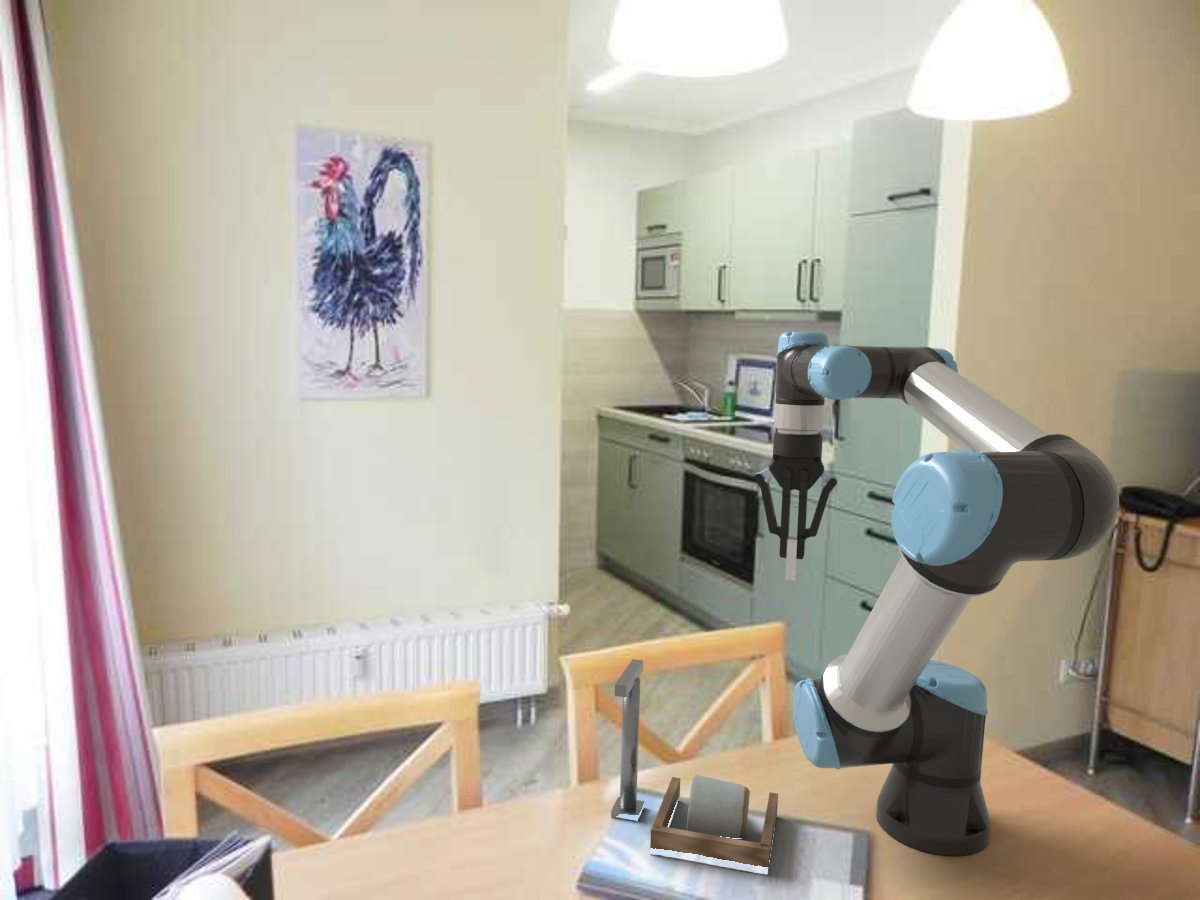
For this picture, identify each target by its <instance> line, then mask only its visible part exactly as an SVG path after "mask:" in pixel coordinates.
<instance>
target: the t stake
mask: <svg viewBox="0 0 1200 900" xmlns="http://www.w3.org/2000/svg"><path fill="white" fill-rule="evenodd" d="M643 672H644V660H643V659H635V658H634V659H633V658H632V659H631V660H630V661H629V664H628V665H627V666H626V667H625V669H624V670H623V672H622V674H621V675H620V676H619V678H618V680H616V682H615V683H614V697H618V698H619V697H621V698H622V711H621V712H622V714H621V715H622V716H621V745H620V746H621V747H620V748H621V749H620V750H621V753H620V779H619V781H620V784H619V785H620V786H619V787H620V788H619V796H617V798H616V800H615V802H614V805H613V806H612V808H611V810H610V818H613V819H615V818H614V817H616V816H618V815H619V814H628V815H639V813H640V811H641V809H642V807H643V804H644V802H645V800H640V799H639V800H638V795H637V794H638V770H639V769H638V768H639V767H638V765H639V764H638V763H639V736H640V735H639V733H640V726H639V725H640V705H641V704H640V703H641V702H640V701H641V699H640V698H641V693H640V692H641V678H640V677H641V676H642V675H641V674H642V673H643ZM645 803H646V802H645Z"/></svg>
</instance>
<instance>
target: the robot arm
mask: <svg viewBox="0 0 1200 900" xmlns="http://www.w3.org/2000/svg"><path fill="white" fill-rule="evenodd" d="M828 340H829V338H828V336H827V334H825V333H824V332H817V331H815V332H814V331H813V332H812V331H811V332H810V331H785V332H782V333H781V334H780V335H779V338H778V346H777V352H776V356H775V357H776V375H775V376H776V378H775V381H776V382H775V383H776V384H775V401H774V402H775V403H774V418H773V419H774V420H773V427H774V428H775V429H777V431H775V432H774V433H773V439H772V440H773V441H772V442H773V443H772V459H771V460H770V462H769V464H768V467H767V468H765V469H764V470H761V471H758V472H757V473H756V474H755V476H754V480H755V482H756V483H757V484H758V487H759V489H760V491H761V496H762V504H763V508H764V512H765V516H766V523H767V527H768V532H769V533H770V534H771V535H772V534H774V535H776V536H778V537H779V557H780V558H781V559H783V558H784V559H786V560H785V562H786V563H785V578H784V580H785V581H792V582H793V581H796V576H797V563H798V561H797V560H803V559H804V557H805V547H806V540H807V539H808V538H814V537H816V536H817V534H818V532H819V528H820V525H821V522H822V519H823V515H824V512H825V509H826V507H827V502H828V501H829V497H830V493H832V491H833V490H834V489H835V487H836V485H837V484H838V478H837V477H836V476H832V475H831V474H830V473H828V471H825V465H824V463H823V460H822V455H823V439H824V436H823V435H822V433H820V431H822V430H824V417H825V403H826V402H825V401H826V400H825V399H828V400H833V401H835V400H839V401H841V400H843V401H844V400H845V401H846V400H849V399H896V400H897V399H898V400H902V401H903V402H904V403H905V404H906V405H908V406H909V407H911V408H912V409H913V410H914V411H915V412H916V413H918V414H919V415H920V416H922V418H924V419H925V420H926V421H927V422H929V423H930V424H932V425H933V426H934V428H936V429H938V430H939V431H940V432H941V433H942V434H944V435H945V436H946V438H948V439H950V441H952V442H953V444H956V445H957V446H958V447H959V448H960V449H953V450H948V451H940V452H939V451H937V452H931V453H928V454H924V455H922V456H920V457H919V458H917V459H915V460H914V461H913V462H912V463H911V464H909V466H908V467H907V468H906V469H905V470H904V471H903V472H902V475H901V476H900V478H899V479H898V482H897V484H896V486H895V490H894V491H893V495H892V503H893V504H894V507H893V509H892V510H891V511H890V520H891V521H890V522H891V523H890V524H891V529H892V533H893V536H894V539H895V541H896V543H897V547H898V550H899V553H900V555H901V556H900V558H899V561H898V562H897V564H896V566H895V567H894V569H893V571H892V573H891V575H890V577H889V578H888V581H887V582H886V584H885V586H884V588H883V590H882V591H881V593H880V595H879V597H878V599H877V600H876V602H875V604H874V606H873V608H872V610H871V611H870V614H869V615H868V617H867V619H866V621H865V622H864V624H863V626H862V628H861V630H860V631H859V633H858V635H857V636H856V638H855V640H854V642H853V643H852V645H851V647H850V649H849V651H848V653H845V654H842V655H839V656H837V657H835V658H834V659H832V660H831V661H830V662H829V663H828V665H827V666H826V668H825V669H824V672H823V673H822V675H821V677H820V678H815V679H812V678H811V677H807V679H803V680H799V681H798V682H797V683H796V685H795V686H794V688H793V695H792V713H793V720H794V726H795V730H796V735H797V737H798V741H799V745H800V748H801V749H802V752H803V753H804V755H805V757H806V758H807V760H808V761H809V762H810V763H811V764H812V765H813V766H814V767H816V768H818V769H819V768H820V769H836V770H840V769H844V768H854V767H855V768H857V767H867V766H881V765H889V764H890V765H891V764H892V765H891V768H890V770H889V772H888V775H887V776H886V779H885V780H884V783H883V785H882V787H881V790H880V792H879V793H878V796H877V802H876V811H875V812H876V813H875V815H876V817H875V818H876V821H877V823H878V825H879V827H881V828H882V829H883V831H884V832H886V833H887V834H888V835H889V836H890V837H892V838H894V839H895V840H897V841H898V842H901V843H902V844H904V845H906V846H909V847H911V848H913V849H917V850H920V851H922V852H927V853H932V854H937V855H943V856H944V855H945V856H964V855H965V856H966V855H971V854H972V855H973V854H975V853H978V852H980V851H982V850H983V849H985V848H986V847H987V845H989V843H990V839H991V826H992V825H991V818H990V814H989V810H988V807H987V802H986V799H985V795H984V792H983V787H982V784H981V780H982V779H981V775H982V767H983V752H984V741H985V729H986V720H987V719H986V718H987V717H986V716H987V715H988V713H989V712H988V707H987V706H988V705H987V702H988V701H987V700H988V698H987V688H986V685H985V684H984V682H983V681H982V679H980V678H979V677H977V676H976V675H975V674H973V673H971V672H969V671H968V670H965V669H963V668H960V667H958V666H955V665H953V664H950V663H946V662H942V661H939V660H938V661H937V660H934V659H932V658H933V657H934V655H935V654H936V652H937V651H938V649H939V647H940V646H941V644H942V643H943V642H944V640H945V638H946V637H947V636H948V634H949V633H950V631H951V630H952V628H953V627H954V625H955V624H956V622H957V621H958V620H959V618H960V616H961V615H962V613H963V611H964V610H965V608H966V607H967V605H968V604H969V602H970V601H971V600H972V598H973V597H979V596H983V595H984V596H985V595H986V594H989V593H991V592H992V591H994V590H995V589H997V587H998V586H999V585H1000V583H1001V582H1002V580H1003V579H1004V578H1005V577H1006V575H1007V574H1008V571H1010V569H1011V567H1012V566H1013V565H1015V564H1016V563H1018V562H1039V561H1041V562H1042V561H1043V562H1044V561H1059V560H1068V559H1069V560H1070V559H1073V558H1075V557H1080V556H1081V555H1083V554H1085V553H1088V552H1089V551H1091V550H1093V549H1095V548H1096V547H1097V546H1098V545H1099V544H1101V543H1102V542H1103V541H1104V540H1105V539H1106V537H1107V536H1108V535H1109V533H1111V530H1112V529H1113V528H1114V525H1115V522H1116V520H1117V517H1118V513H1119V508H1120V493H1119V489H1118V485H1117V482H1116V480H1115V478H1114V475H1113V474H1112V471H1111V470H1110V469H1109V467H1108V466H1107V465H1106V464H1105V463H1104V461H1103V460H1102V459H1101V458H1099V456H1097V454H1095V453H1094V452H1093V451H1091V450H1090V449H1089V448H1088V447H1086V446H1084V445H1083V444H1082V443H1080V442H1078V441H1077V440H1075V439H1073V438H1072V437H1071V436H1069V435H1068V434H1067V435H1066V434H1063V433H1058V432H1057V433H1056V432H1055V433H1054V432H1053V433H1048V432H1046V431H1045V430H1043V429H1042V428H1041V427H1039V426H1038V425H1036V424H1035V423H1033V422H1031V421H1030V420H1028V419H1027V418H1026V417H1024V416H1022V415H1021V414H1019V413H1018V412H1016V411H1015V410H1013V409H1012V408H1011V407H1009V406H1007V405H1006V404H1004V403H1003V402H1001V401H1000V400H999V399H997V398H996V397H994V396H992V395H991V394H989V393H988V392H987V391H985V390H983V388H980V387H979V386H977V385H976V384H975V383H973V382H972V381H970V380H969V379H967V378H966V377H964V376H963V375H961V374H960V373H958V372H959V371H958V364H957V362H956V361H955V360H954V356H953V354H952V353H951V352H950V351H948V350H946V349H944V348H936V347H930V346H867V345H866V346H865V345H848V344H831V345H829V344H828V343H829V342H828ZM771 475H772V476H773V478H774V479H775V481H776V482H777V484H778V486H779V487H780V488H781V491H782V492H781V493H782V495H781V497H782V498H781V509H780V511H781V515H780V516H781V517H780V525H778V520H777V515H776V511H775V506H774V501H773V496H772V491H771V486H770V482H771V480H772V477H771ZM820 478H821V481H820V485H821V487H822V489H821V492H820V495H819V498H818V501H817V505H816V507H815V512H814V514H813V517H812V520H811V523H810V527H807V511H808V493H809V490H810V489H811V488H812V487H814V484H815V483H817V481H818V480H819V479H820ZM794 490H796V491H798V509H797V527H796V528H797V530H796V536H792V535H789V533H790V521H791V520H790V519H791V502H792V499H791V498H792V491H794Z"/></svg>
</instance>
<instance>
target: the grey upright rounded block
mask: <svg viewBox="0 0 1200 900" xmlns="http://www.w3.org/2000/svg"><path fill="white" fill-rule="evenodd" d="M750 792H751V791H750V789H749V788H748V787H747V786H746V785H743V784H740V783H736V782H733V781H726V780H721V779H717V778H713V777H710V776H709V777H708V776H703V775H698V774H694V775H693V777H692V780H691V785H690V791H689V800H688V809H687V820H686V831H692V832H697V833H703V834H709V835H715V836H722V837H730V838H743V839H745V837H746V836H747V826H748V818H749V817H748V816H749V807H750V806H749V805H750Z"/></svg>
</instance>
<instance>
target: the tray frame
mask: <svg viewBox="0 0 1200 900" xmlns="http://www.w3.org/2000/svg"><path fill="white" fill-rule="evenodd" d="M679 797H680V798H681V777H674V776H672V777H671V779H670V782H669V785H668V787H667V789H666V792H665V795H664V797H663V799H662V801H661V804H660V806H659V809H658V811H657V814H656V817H655V819H654V822H652V826H651V828H650V841H649V843H650V844H649V845H650V846H649V847H650V848H653V849H655V848H656V849H664V850H672V851H677V852H683V853H692V854H698V855H703V856H706V857H713V858H717V859H722V860H729V861H735V862H739V863H743V864H750V865H754V866H758V865H759V866H762V867H769V868H770V866H769V860H770V861H771V859H770V854H771V855H772V853H771V847H772V848H773V846H772V840H773V834H774V835H775V833H774V828H775V829H776V827H775V822H776V823H777V820H776V816H777V817H778V806H779V805H778V804H779V803H778V802H779V793H776V792H770V791H769V794H768V798H767V807H766V811H765V816H764V824H763V828H762V835H761V838H760V839H761V840H760V842H756V841H755V842H753V841H748V840H743V839H740V840H738V839H732V838H726V837H720V836H715V835H709V834H703V833H697V832H692V831H687V829H686V830H685V829H678V828H673V827H670V828H668V827H667V826H668V823H669V820H670V818H671V815H672V813H673V810H674V807H675V805H676V802H677V800H678V798H679ZM773 841H774V840H773ZM650 848H649V849H650Z"/></svg>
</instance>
